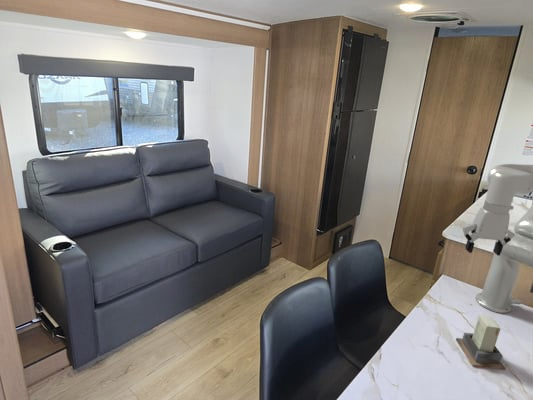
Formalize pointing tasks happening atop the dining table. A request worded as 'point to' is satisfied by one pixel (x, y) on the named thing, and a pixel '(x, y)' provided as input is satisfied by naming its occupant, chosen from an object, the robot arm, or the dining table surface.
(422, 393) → the dining table surface
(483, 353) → the sleeve stand
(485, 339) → the skincare box
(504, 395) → the dining table surface
